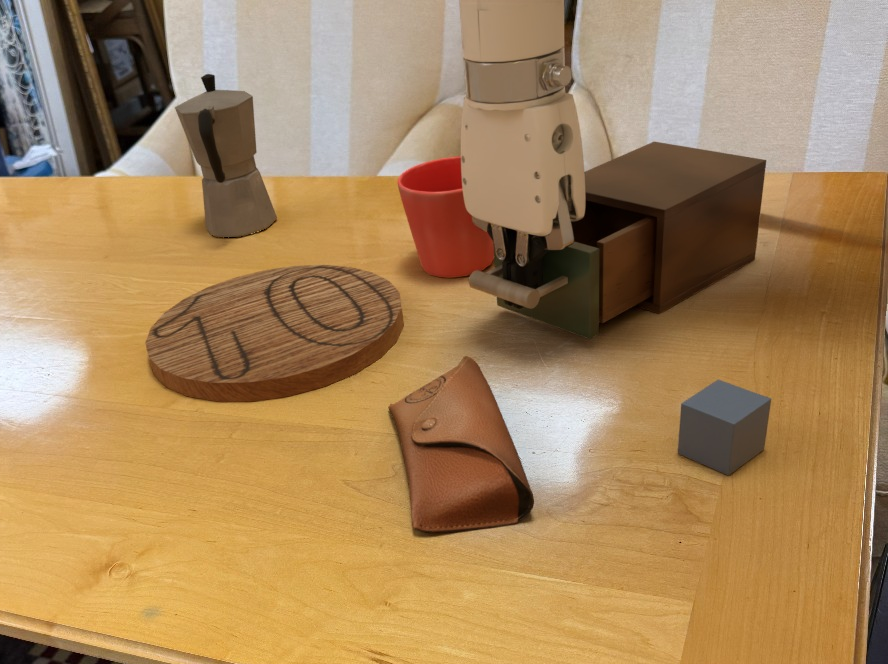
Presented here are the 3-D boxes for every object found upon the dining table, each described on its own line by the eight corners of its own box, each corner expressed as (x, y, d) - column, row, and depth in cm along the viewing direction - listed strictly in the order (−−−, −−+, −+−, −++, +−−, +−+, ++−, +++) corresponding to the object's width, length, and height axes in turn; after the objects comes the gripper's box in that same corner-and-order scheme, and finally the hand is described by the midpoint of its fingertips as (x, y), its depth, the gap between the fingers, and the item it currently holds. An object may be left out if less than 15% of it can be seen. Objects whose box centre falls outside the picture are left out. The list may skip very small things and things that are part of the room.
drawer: (547, 363, 76) (545, 275, 71) (456, 326, 84) (448, 244, 79) (687, 284, 84) (693, 201, 80) (592, 257, 92) (593, 180, 87)
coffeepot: (213, 212, 122) (177, 67, 111) (282, 202, 121) (252, 56, 111) (195, 256, 110) (153, 98, 99) (272, 246, 109) (238, 86, 98)
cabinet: (659, 314, 82) (665, 210, 77) (555, 281, 91) (553, 184, 85) (755, 259, 89) (766, 159, 83) (650, 233, 97) (653, 141, 92)
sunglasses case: (380, 402, 75) (413, 332, 72) (456, 426, 77) (491, 359, 74) (412, 536, 61) (455, 456, 57) (504, 560, 63) (550, 485, 60)
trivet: (188, 433, 76) (182, 414, 75) (126, 327, 95) (121, 311, 94) (450, 343, 83) (448, 324, 82) (344, 261, 102) (341, 245, 101)
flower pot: (392, 283, 96) (379, 191, 90) (428, 242, 103) (419, 155, 98) (488, 287, 92) (482, 191, 86) (519, 244, 99) (515, 154, 94)
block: (713, 428, 67) (718, 379, 64) (764, 449, 64) (771, 398, 62) (677, 453, 65) (680, 403, 63) (728, 476, 62) (734, 424, 60)
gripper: (625, 73, 65) (619, 308, 76) (482, 58, 75) (495, 267, 86) (553, 100, 62) (558, 341, 73) (413, 80, 72) (435, 295, 83)
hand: (523, 300), depth 80 cm, fingers closed
